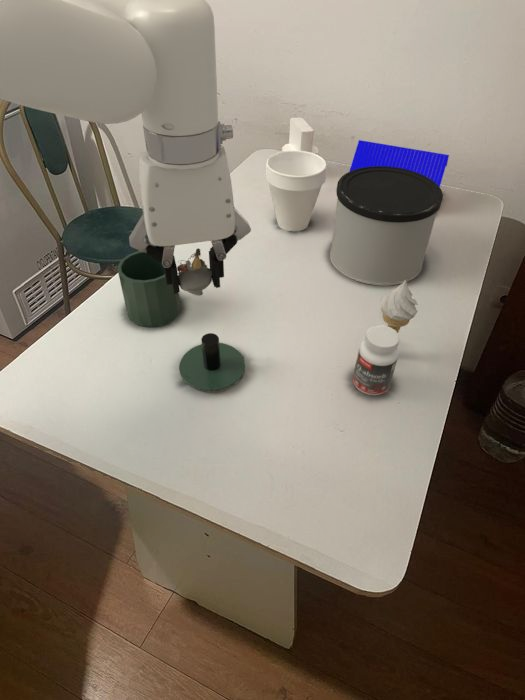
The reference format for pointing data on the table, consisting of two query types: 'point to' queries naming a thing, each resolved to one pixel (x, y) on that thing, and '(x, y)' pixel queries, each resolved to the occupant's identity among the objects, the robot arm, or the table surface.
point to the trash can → (147, 291)
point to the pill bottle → (376, 360)
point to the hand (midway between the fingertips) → (195, 283)
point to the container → (383, 224)
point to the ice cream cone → (398, 307)
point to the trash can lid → (212, 365)
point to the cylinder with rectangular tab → (300, 136)
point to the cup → (295, 186)
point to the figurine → (194, 275)
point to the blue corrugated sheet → (400, 159)
